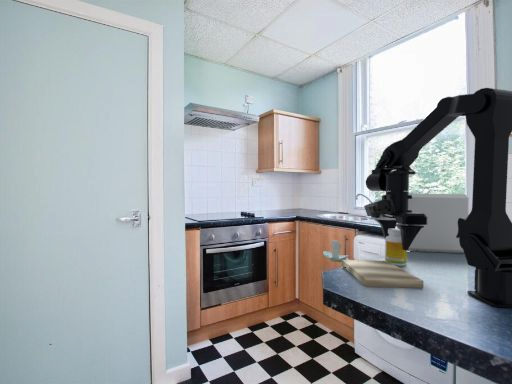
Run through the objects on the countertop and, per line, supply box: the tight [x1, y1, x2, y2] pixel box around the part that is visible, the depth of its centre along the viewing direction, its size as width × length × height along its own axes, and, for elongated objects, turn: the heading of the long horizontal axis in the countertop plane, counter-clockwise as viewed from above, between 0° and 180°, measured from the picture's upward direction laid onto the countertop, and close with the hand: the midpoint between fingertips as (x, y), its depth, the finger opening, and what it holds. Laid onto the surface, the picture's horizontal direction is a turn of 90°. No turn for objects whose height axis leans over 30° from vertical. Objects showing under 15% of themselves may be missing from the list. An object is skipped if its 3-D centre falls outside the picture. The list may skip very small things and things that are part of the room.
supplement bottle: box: [384, 227, 408, 267], centre depth 74 cm, size 5×5×10 cm
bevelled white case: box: [396, 192, 470, 254], centre depth 93 cm, size 21×8×20 cm, turn 82°
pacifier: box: [323, 239, 350, 263], centre depth 76 cm, size 7×6×6 cm
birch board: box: [341, 259, 424, 289], centre depth 63 cm, size 16×12×2 cm
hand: (396, 246), depth 74 cm, fingers open, 9 cm apart
